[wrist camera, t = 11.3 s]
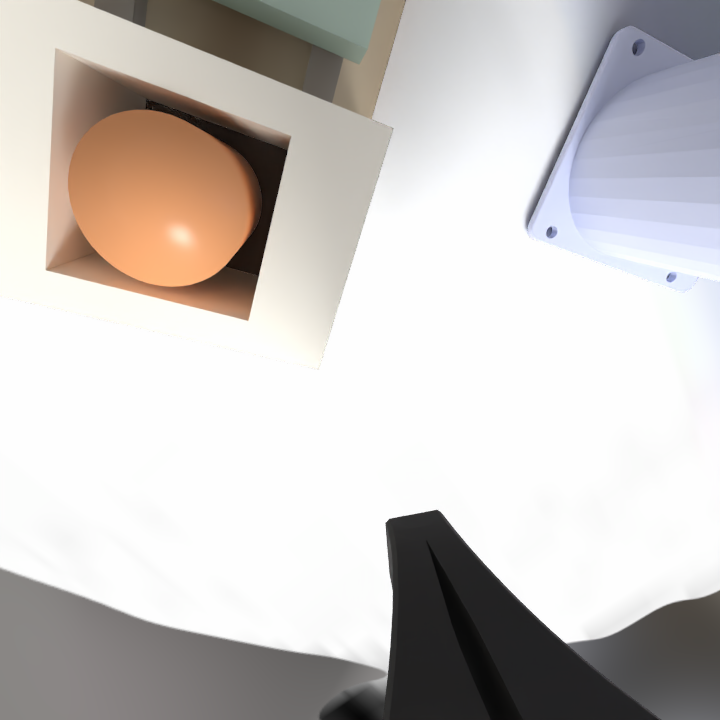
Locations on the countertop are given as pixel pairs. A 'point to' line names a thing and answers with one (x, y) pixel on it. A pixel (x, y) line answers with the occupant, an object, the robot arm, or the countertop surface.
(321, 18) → the carriage
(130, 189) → the button
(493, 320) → the countertop surface
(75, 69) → the end cabinet
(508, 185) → the countertop surface
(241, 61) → the rail track
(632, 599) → the countertop surface
